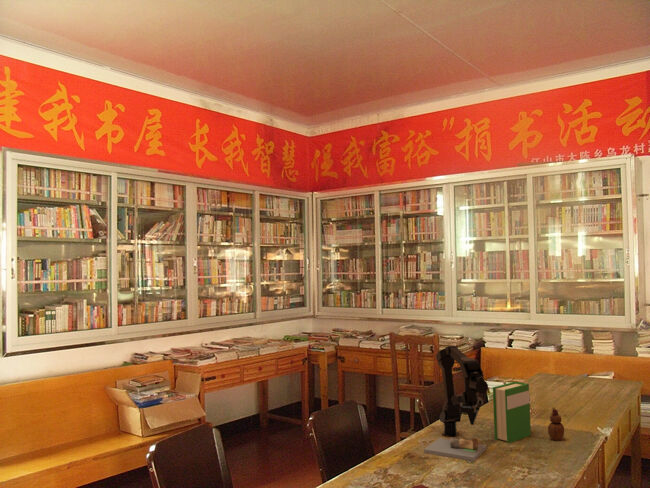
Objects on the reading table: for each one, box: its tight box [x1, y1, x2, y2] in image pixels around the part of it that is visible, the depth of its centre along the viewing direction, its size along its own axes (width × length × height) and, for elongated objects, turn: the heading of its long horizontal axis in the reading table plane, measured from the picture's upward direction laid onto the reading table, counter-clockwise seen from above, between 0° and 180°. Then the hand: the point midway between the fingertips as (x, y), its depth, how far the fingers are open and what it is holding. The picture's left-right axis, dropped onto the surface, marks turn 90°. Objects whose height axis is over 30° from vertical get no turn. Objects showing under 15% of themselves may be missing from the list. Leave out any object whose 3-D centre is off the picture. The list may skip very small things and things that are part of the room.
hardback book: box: [492, 381, 532, 444], centre depth 261 cm, size 18×7×24 cm, turn 128°
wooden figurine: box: [547, 407, 565, 441], centre depth 256 cm, size 7×6×15 cm
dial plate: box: [423, 437, 488, 462], centre depth 244 cm, size 18×22×2 cm
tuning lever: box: [449, 437, 479, 450], centre depth 243 cm, size 12×4×4 cm, turn 62°
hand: (472, 424), depth 246 cm, fingers closed
